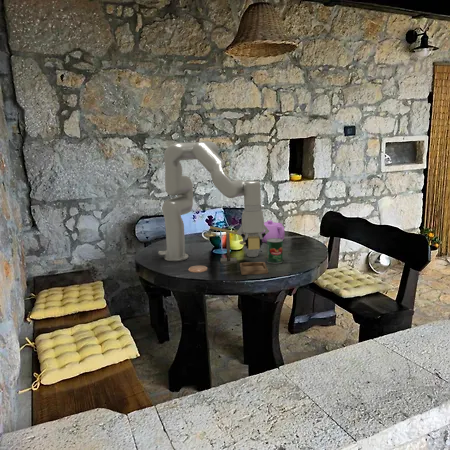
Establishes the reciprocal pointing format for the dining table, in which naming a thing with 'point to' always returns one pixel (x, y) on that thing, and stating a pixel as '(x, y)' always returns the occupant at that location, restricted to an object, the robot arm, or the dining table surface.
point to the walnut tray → (253, 268)
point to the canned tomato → (274, 250)
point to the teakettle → (273, 230)
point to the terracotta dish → (197, 269)
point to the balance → (228, 259)
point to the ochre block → (253, 242)
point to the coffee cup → (254, 251)
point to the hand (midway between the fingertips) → (253, 246)
